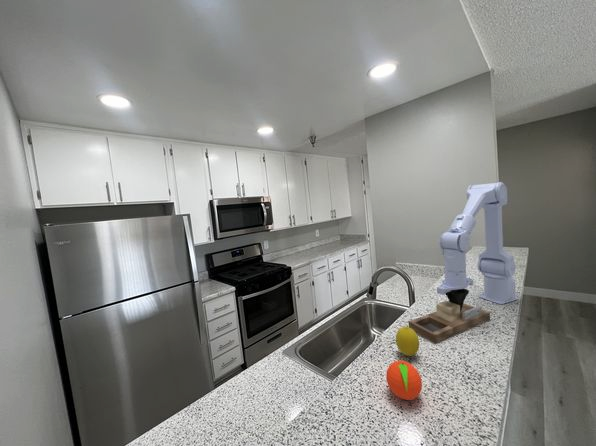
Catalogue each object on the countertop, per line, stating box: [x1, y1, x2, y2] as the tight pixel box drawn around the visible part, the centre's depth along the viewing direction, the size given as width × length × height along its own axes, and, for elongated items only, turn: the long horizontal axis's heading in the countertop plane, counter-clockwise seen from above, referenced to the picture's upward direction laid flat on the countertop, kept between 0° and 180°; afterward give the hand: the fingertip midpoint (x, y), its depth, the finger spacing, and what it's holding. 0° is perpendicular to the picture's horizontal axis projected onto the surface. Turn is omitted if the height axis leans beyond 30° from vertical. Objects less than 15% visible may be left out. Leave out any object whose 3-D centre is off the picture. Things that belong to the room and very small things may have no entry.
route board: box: [408, 302, 491, 345], centre depth 74 cm, size 25×9×2 cm, turn 112°
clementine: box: [385, 360, 423, 401], centre depth 49 cm, size 8×7×7 cm
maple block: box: [435, 300, 460, 322], centre depth 74 cm, size 4×4×4 cm
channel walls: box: [462, 305, 482, 321], centre depth 76 cm, size 8×8×2 cm
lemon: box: [395, 326, 420, 357], centre depth 62 cm, size 6×6×8 cm
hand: (456, 310), depth 75 cm, fingers closed
